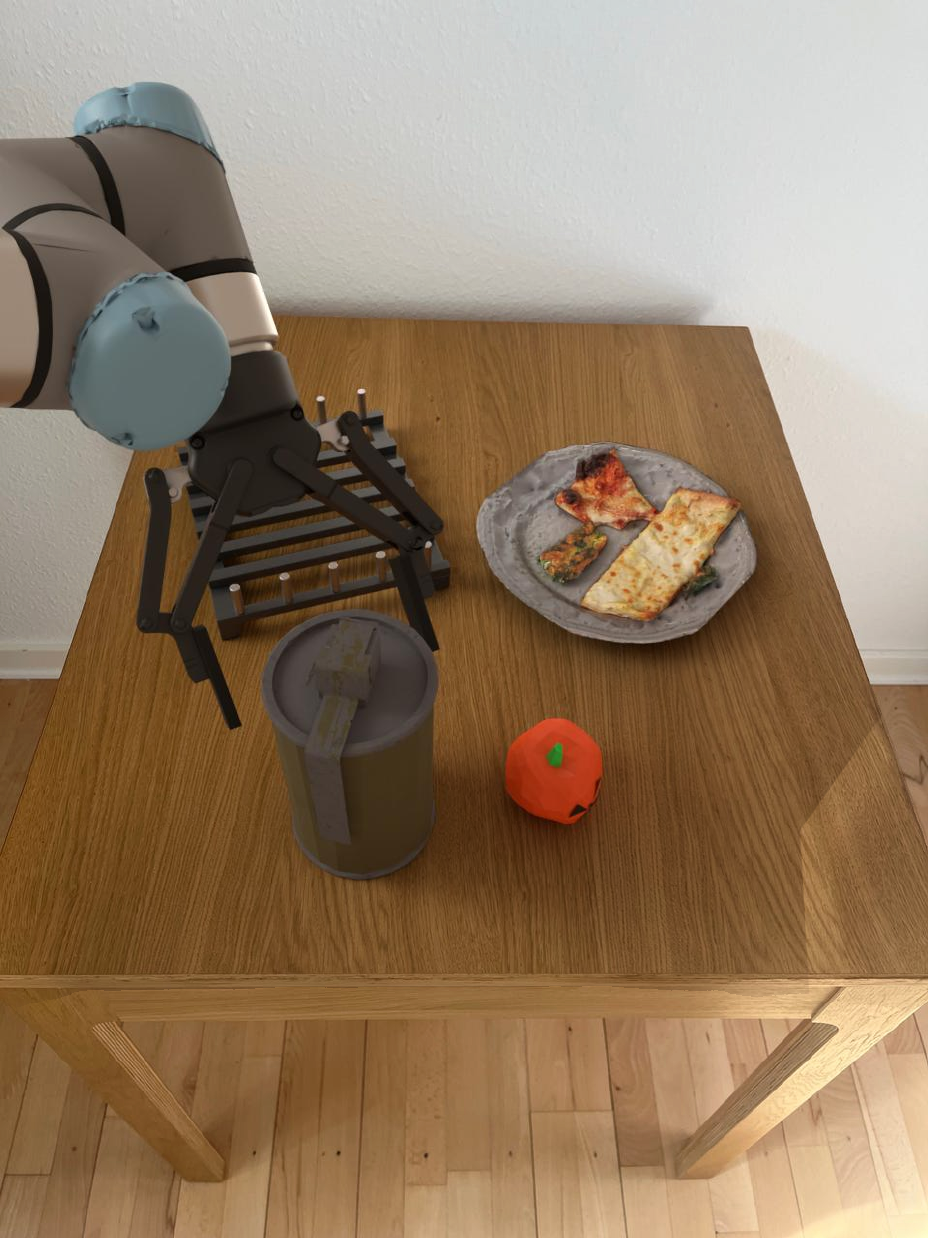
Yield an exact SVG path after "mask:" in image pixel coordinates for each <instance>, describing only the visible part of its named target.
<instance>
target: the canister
mask: <svg viewBox="0 0 928 1238" xmlns="http://www.w3.org/2000/svg"><path fill="white" fill-rule="evenodd" d="M439 677H440V675H439V668H438V664H437V660H436V657H435V655H434V652H432V650H431V649H430V648H429V646H428V645H427V643H426V642H425V641H424V639H423V638H422V637H421V636H420V635H419V634H418V633H417V632H416V630H415V629H413V628H412V627H410V625H409V624H408V623H405V622H404V621H403V620H401V619H398V618H396V617H394V616H392V615H389V614H387V613H382V612H379V611H374V610H369V609H361V608H360V609H359V608H351V609H343V610H333V611H329V612H328V611H327V612H324V613H322V614H319V615H316V616H313V617H311V618H308V619H306V620H305V621H303V622H301V623H299V624H298V625H296V626H294V627H292V629H291V630H290V631H288V632H287V633H286V634H285V635H284V636H283V637H282V638H281V639H279V640H278V642H277V643H276V645H275V646H274V647H273V648H272V649H271V651H270V653H268V656H267V660H266V662H265V665H264V667H263V671H262V673H261V684H260V686H261V687H260V690H261V699H262V703H263V707H264V708H265V711H266V713H267V715H268V718H269V720H270V721H271V725H272V729H273V733H274V737H275V742H276V746H277V751H278V756H279V761H280V763H281V768H282V773H283V777H284V782H285V785H286V790H287V795H288V799H289V802H290V808H291V824H292V825H291V826H292V831H293V834H294V837H295V840H296V842H297V844H298V846H299V848H300V850H301V851H302V852H303V854H304V855H305V856H306V857H307V858H308V860H309V861H311V862H312V863H313V864H314V865H315V866H317V867H318V868H319V869H321V870H323V871H325V872H327V873H329V874H331V875H333V876H336V877H338V878H339V877H340V878H344V879H345V878H346V879H352V880H370V879H375V878H378V877H383V876H386V875H389V874H393V873H395V872H397V871H399V870H400V869H402V868H404V867H405V866H407V865H408V864H410V862H412V861H414V859H415V858H416V857H417V856H418V855H419V853H420V852H421V851H422V850H423V849H424V847H425V846H426V844H427V842H428V841H429V839H430V837H431V835H432V832H433V828H434V823H435V818H436V803H435V797H434V785H433V784H434V723H435V722H434V721H435V719H434V715H435V702H436V697H437V694H438V691H439V686H440V685H439V682H440V678H439Z"/></svg>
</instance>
